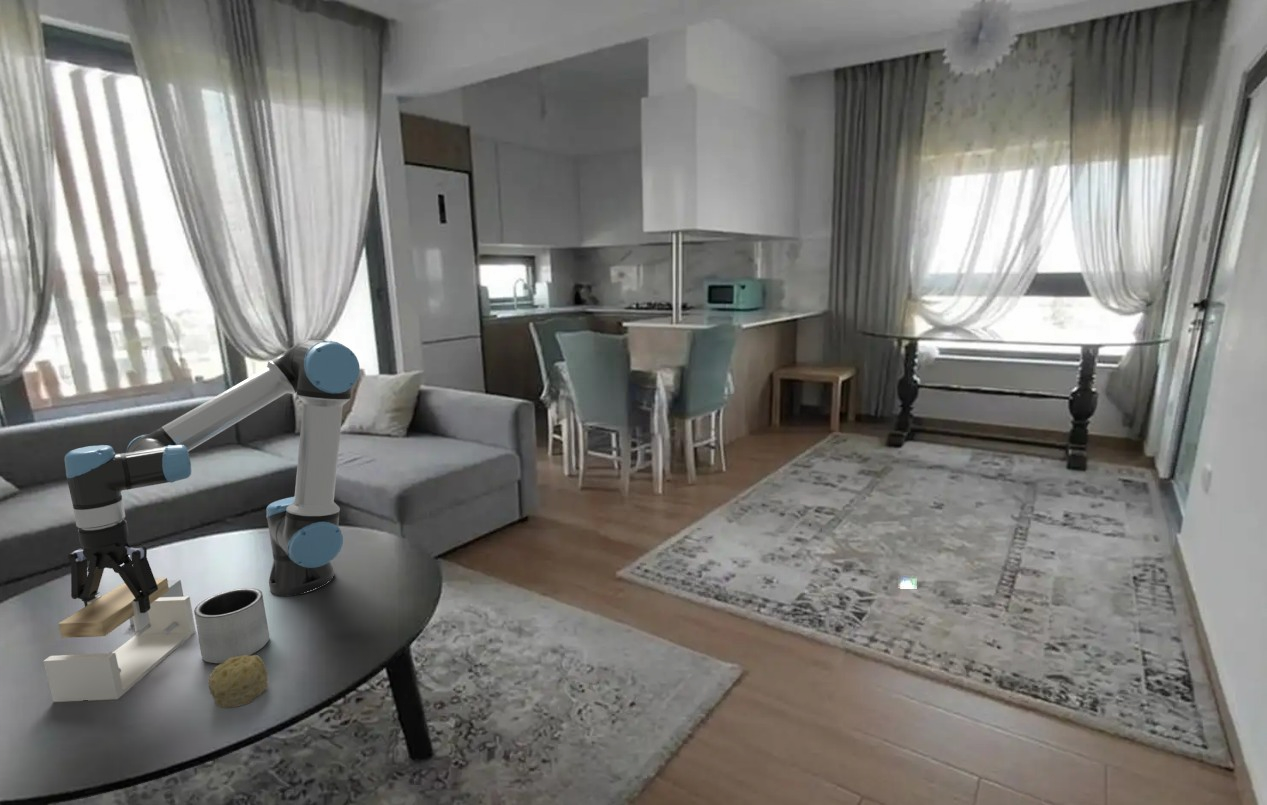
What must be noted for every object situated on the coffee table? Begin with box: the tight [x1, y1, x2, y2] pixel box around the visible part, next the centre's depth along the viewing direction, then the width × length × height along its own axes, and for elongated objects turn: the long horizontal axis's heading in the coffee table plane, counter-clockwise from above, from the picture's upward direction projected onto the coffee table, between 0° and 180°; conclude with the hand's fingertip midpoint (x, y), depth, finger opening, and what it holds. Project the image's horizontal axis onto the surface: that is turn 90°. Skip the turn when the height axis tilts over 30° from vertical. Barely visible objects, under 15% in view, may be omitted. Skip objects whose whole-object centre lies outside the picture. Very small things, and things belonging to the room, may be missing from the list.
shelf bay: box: [43, 595, 197, 703], centre depth 130 cm, size 12×23×9 cm, turn 2°
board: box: [58, 577, 169, 639], centre depth 128 cm, size 8×18×3 cm, turn 2°
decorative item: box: [208, 654, 269, 709], centre depth 119 cm, size 10×10×10 cm
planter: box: [194, 587, 270, 665], centre depth 134 cm, size 13×12×11 cm
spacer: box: [129, 579, 185, 625], centre depth 151 cm, size 4×12×5 cm, turn 2°
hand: (121, 626), depth 129 cm, fingers closed on board, 8 cm apart
